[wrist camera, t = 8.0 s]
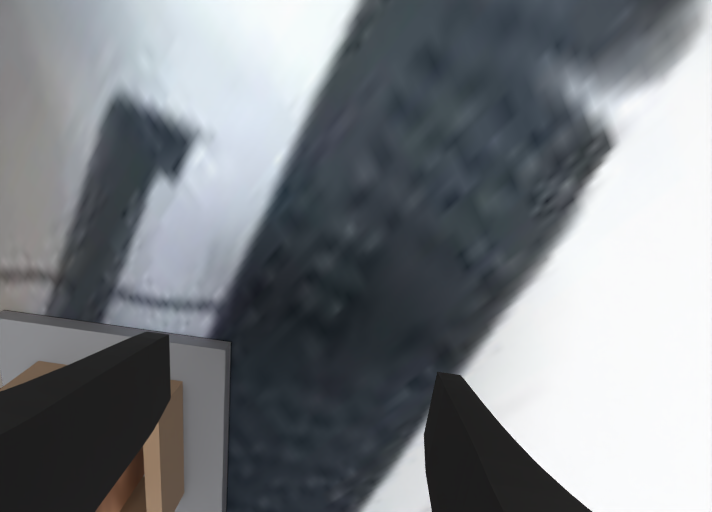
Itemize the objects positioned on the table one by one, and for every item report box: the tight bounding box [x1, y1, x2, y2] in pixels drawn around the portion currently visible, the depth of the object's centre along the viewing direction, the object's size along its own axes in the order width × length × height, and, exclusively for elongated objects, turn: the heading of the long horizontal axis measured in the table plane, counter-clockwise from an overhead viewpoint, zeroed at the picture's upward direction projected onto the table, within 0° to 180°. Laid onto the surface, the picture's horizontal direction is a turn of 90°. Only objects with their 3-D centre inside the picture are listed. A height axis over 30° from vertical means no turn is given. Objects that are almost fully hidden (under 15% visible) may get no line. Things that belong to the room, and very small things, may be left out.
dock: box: [0, 310, 231, 512], centre depth 23 cm, size 12×12×3 cm
